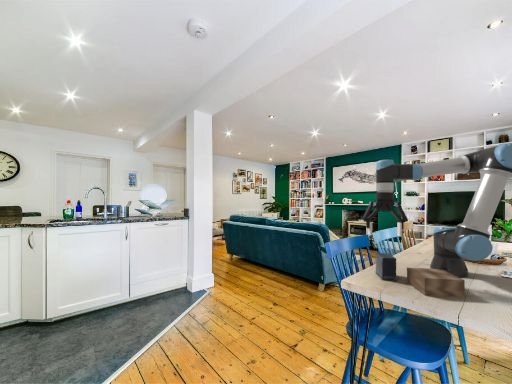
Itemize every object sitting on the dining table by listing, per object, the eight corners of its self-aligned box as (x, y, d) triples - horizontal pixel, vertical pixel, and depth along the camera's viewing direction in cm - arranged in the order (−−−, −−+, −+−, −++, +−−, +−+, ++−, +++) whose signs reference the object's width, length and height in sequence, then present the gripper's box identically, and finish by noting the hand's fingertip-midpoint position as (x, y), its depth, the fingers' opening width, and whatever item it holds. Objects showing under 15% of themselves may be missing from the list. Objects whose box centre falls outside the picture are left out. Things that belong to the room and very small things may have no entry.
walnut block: (441, 285, 103) (441, 269, 103) (464, 298, 89) (464, 280, 89) (407, 283, 105) (406, 267, 105) (424, 296, 91) (424, 278, 91)
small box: (397, 281, 106) (397, 258, 107) (382, 280, 108) (381, 257, 108) (389, 273, 117) (388, 252, 117) (375, 273, 118) (374, 252, 118)
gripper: (407, 192, 115) (407, 235, 115) (355, 191, 118) (355, 233, 118) (416, 192, 108) (416, 237, 108) (360, 191, 111) (360, 236, 110)
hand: (384, 235), depth 113 cm, fingers open, 13 cm apart
